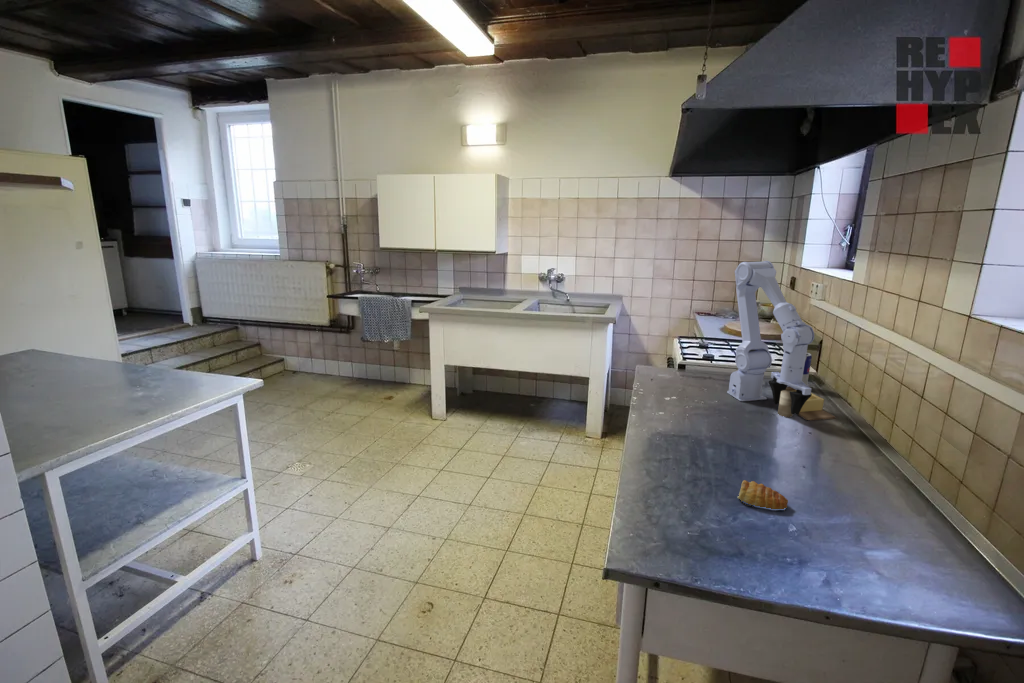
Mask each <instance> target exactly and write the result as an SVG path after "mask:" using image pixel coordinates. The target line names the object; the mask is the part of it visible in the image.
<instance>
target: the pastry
mask: <svg viewBox="0 0 1024 683" xmlns="http://www.w3.org/2000/svg"><path fill="white" fill-rule="evenodd" d="M738 495H739V496H738ZM738 495H737V499H738V500H739V499H740V500H741V501H740V500H739V501H740V502H742V501H744V502H746V503H748V504H751V505H755V506H760V507H766V508H771V509H784V508H788V503H789V499H787V498H786V497H785V496H784V495H782V493H781V494H780V492H779V491H776V490H774V489H772V487H768V486H766V485H764V484H763V483H757V482H756V481H754V480H752V481H748V480H745V479H744V480H742V482H741V487H740V490H739V493H738ZM751 505H750V506H751Z"/></svg>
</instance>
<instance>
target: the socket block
mask: <svg viewBox="0 0 1024 683" xmlns="http://www.w3.org/2000/svg"><path fill="white" fill-rule="evenodd" d="M811 394H812V395H811V397H810V398H809V399H808V400H807V401H806V402H805V403H804V405H803V407H802V408H801V410H800V412H805V411H818V410H823V408H824V403H825V399H824V398H822V397H820V396H818V395H817V394H815V393H812V392H811Z"/></svg>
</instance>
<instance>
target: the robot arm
mask: <svg viewBox="0 0 1024 683" xmlns="http://www.w3.org/2000/svg"><path fill="white" fill-rule="evenodd" d="M776 275H777V270H776V269H775V266H774V264H773V263H772V262H771V261H769V260H764V261H742V262H740V263H738V265H737V267H736V268H735V269H734V276H735V277H734V279H735V285H736V286H735V289H736V290H735V291H736V299H737V306H738V307H737V308H738V315H739V322H740V323H739V324H740V330H741V331H740V332H741V333H740V334H741V339H742V340H741V341H742V342H741V343H740V344H739V345H738V346H737V347H736V349H735V352H736V353H735V357H734V358H735V359H734V361H735V365H736V367H737V370H736V371H732V373H731V374H730V377H729V384H728V390H727V391H726V393H727V394H728V395H730V396H731V397H734V399H736V400H737V401H739V402H749V401H750V402H751V401H763V400H764V401H765V400H767V399H768V398H767V397H766V396H764V395H763V394H762V391H763V383H764V377H765V372H767V370H768V368H770V367H771V365H772V363H773V362H772V361H773V357H772V354H771V353H770V350H769V346H768V344H767V343H765V342H764V341H763V340H762V338H761V337H762V336H761V328H760V322H759V320H760V319H759V314H758V313H759V312H758V305H757V298H756V297H757V296H756V292H757V291H758V290H759V289H761V290H762V291H763V292H764V293H765V295H766V296H767V298H768V300H769V301H770V303H771V304H772V306H773V307H774V308H773V311H772V314H773V316H774V318H775V319H776V322H777V323H778V325H779V326H780V329H781V330H782V333H781V334H780V337H781V342H782V349H783V353H782V354H783V357H782V362H781V369H780V372H779V371H771V374H770V378H771V380H769V381H768V384H769V387H770V389H771V394H772V398H773V399H772V400H773V404H774V405H779V401H780V395H781V391H783V390H786V387H792V388H794V389H796V391H791V392H790V396H791V414H793V415H797V414H799V412H800V410H801V408H802V407H803V405H804V403H805V402H806V401H807V400H808V399H809V398H810V397H811V395H812V394H813V393H812V388H811V387H810V386H809V385H808V384H807V385H806V384H805V383H804V382H803V381H802V377H803V371H804V365H805V359H806V353H808V346H809V345H811V344H812V343H813V341H814V340H815V331H814V328H813V327H812V326H811V325H809V324H806V322H805V321H803V320H802V318H801V316H800V315H799V313H798V311H797V308H796V306H795V305H794V304H792V303H790V302H787V300H786V299H785V296H784V294H783V292H782V290H781V287H780V285H779V283H778V280H777V279H776ZM811 393H812V394H811Z"/></svg>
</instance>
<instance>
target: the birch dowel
mask: <svg viewBox="0 0 1024 683" xmlns="http://www.w3.org/2000/svg"><path fill="white" fill-rule="evenodd" d="M790 392H791V391H787V390H783V391H781V395H780V401H779V404H778V409H777V415H778V414H779V415H778V416H780V417H783V416H784V418H792V417H793V415H794V414H791V396H790Z"/></svg>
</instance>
